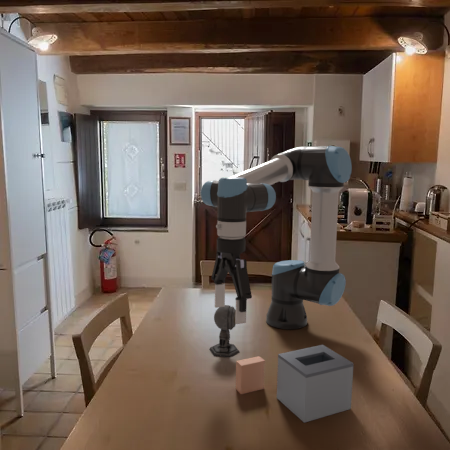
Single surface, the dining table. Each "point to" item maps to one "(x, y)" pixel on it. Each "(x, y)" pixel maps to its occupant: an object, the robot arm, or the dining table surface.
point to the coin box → (314, 382)
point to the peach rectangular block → (250, 374)
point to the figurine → (224, 332)
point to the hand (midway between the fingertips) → (229, 314)
